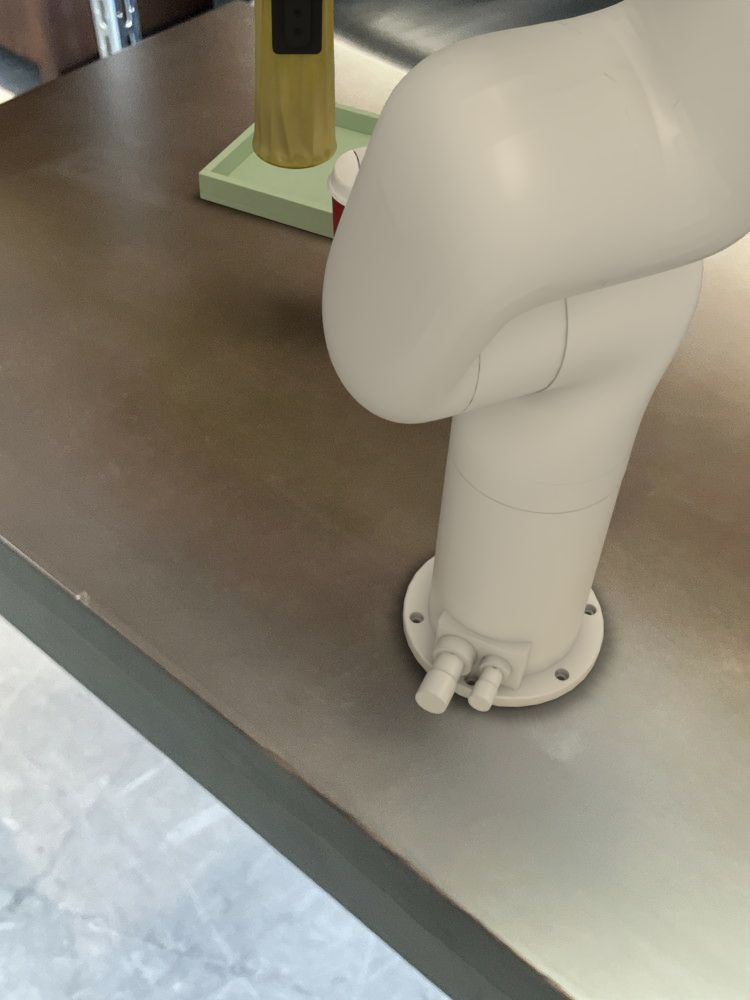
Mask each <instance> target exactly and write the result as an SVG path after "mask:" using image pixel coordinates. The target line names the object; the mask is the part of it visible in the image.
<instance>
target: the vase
mask: <svg viewBox="0 0 750 1000" xmlns="http://www.w3.org/2000/svg"><path fill="white" fill-rule="evenodd" d="M334 3H335V2H334V0H323V2H322V50H321V52H320V53H319V54H275V53H274V52H273V49H272V17H271V0H253V14H254V15H253V17H254V18H253V19H254V66H255V67H254V78H255V79H254V122H255V125H254V136H253V141H252V147H253V150H254V152H255V154H256V155H257V156H258V157H259V158H260V159H262V160H263V161H265V162H267V163H268V164H271V165H273V166H277V167H281V168H287V169H305V168H311V167H315V166H318V165H320V164H322V163H324V162H326V161H328V160H329V159H331V157H332V156H333V155H334V154H335V152H336V150H337V142H336V137H335V103H336V83H335V82H336V66H335V23H334V21H335V20H334V10H335V9H334V5H335V4H334Z"/></svg>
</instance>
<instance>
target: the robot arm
mask: <svg viewBox="0 0 750 1000" xmlns="http://www.w3.org/2000/svg"><path fill="white" fill-rule="evenodd" d="M322 2H323V0H271V17H272V49H273V52H274V53H275V54H319V53H320V52H321V50H322ZM379 115H380V116H379V118H378V121H377V123H376V125H375V128H374V130H373V133H372V136H371V138H370V141H369V144H368V146H367V149H366V152H365V154H364V157H363V160H362V163H361V165H360V168H359V171H358V173H357V176H356V179H355V181H354V184H353V187H352V189H351V192H350V195H349V197H348V200H347V203H346V205H345V208H344V211H343V213H342V216H341V219H340V221H339V224H338V227H337V230H336V233H335V236H334V239H333V238H332V242H331V244H330V248H329V252H328V256H327V259H326V263H325V269H324V276H323V285H322V294H321V295H322V297H321V316H322V317H321V318H322V328H323V334H324V340H325V344H326V349H327V352H328V357H329V359H330V361H331V364H332V366H333V369H334V371H335V374H336V375H337V377H338V378H339V381H340V382H341V384H342V385H343V386H344V388H345V389H346V391H347V392H348V393H349V395H350V396H351V397H352V398H353V399H354V400H355V401H356V402H357V403H358V404H359V405H361V406H362V408H364V409H366V410H367V411H368V412H370V413H371V414H373V415H374V416H376V417H379V418H381V419H383V420H386V421H388V422H389V421H390V422H393V423H397V424H406V425H414V424H425V423H430V422H434V421H438V420H443V419H446V418H447V419H448V418H450V417H451V426H450V430H449V431H450V432H449V438H448V439H449V440H448V446H447V453H446V454H447V456H446V462H445V471H444V477H443V478H444V479H443V486H442V495H441V501H440V503H441V504H440V510H439V511H440V512H439V520H438V527H437V536H436V543H435V550H434V556H432V557H430V558H429V559H428V560H427V561H425V562H424V563H423V564H422V565H421V567H420V568H419V569H418V570H416V572H415V574H414V575H413V577H412V579H411V581H410V583H409V584H408V586H407V590H406V593H405V596H404V600H403V608H402V624H403V632H404V636H405V639H406V642H407V645H408V647H409V649H410V651H411V653H412V654H413V656H414V658H415V660H416V661H417V663H418V664H419V665H420V666H421V667H422V668H423V669H424V671H425V672H426V674H425V676H424V677H423V680H422V682H421V684H420V686H419V687H418V689H417V691H416V693H415V696H414V697H415V699H414V700H415V702H416V703H417V705H418V706H419V707H420V708H422V709H423V710H424V711H427V712H429V713H430V714H434V715H441V714H444V713H445V712H446V710H447V708H448V707H449V704H450V702H451V700H452V698H453V696H454V694H457V695H458V696H460V697H463V698H466V699H467V701H468V704H469V705H470V707H471V708H472V709H475V711H477V712H478V711H479V712H483V713H484V712H489V710H490V709H491V707H492V706H495V707H507V708H508V707H509V708H521V707H528V706H529V707H530V706H536V705H540V704H544V703H546V702H550V701H554V700H556V699H558V698H560V697H562V696H563V695H566V694H567V693H569V692H571V691H572V690H574V689H575V688H576V687H577V686H578V685H580V684H581V683H582V682H583V681H584V680H585V679H586V677H587V676H588V675H589V673H590V672H591V671H592V669H593V668H594V666H595V664H596V661H597V659H598V657H599V655H600V651H601V649H602V648H601V647H602V644H603V641H604V636H605V635H604V632H605V631H604V627H605V626H604V625H605V622H604V617H603V613H602V607H601V605H600V602H599V600H598V598H597V596H596V594H595V592H594V590H593V589H592V586H593V583H594V581H595V580H594V579H595V575H596V573H597V569H598V565H599V561H600V558H601V555H602V553H603V549H604V544H605V541H606V539H607V534H608V530H609V527H610V524H611V521H612V517H613V513H614V510H615V506H616V503H617V499H618V496H619V493H620V489H621V485H622V482H623V479H624V477H625V475H626V471H627V468H628V464H629V461H630V457H631V455H632V454H631V453H632V451H633V447H634V444H635V441H636V437H637V434H638V432H639V429H640V425H641V422H642V420H643V417H644V415H645V412H646V410H647V407H648V405H649V403H650V401H651V399H652V396H653V394H654V392H655V390H656V389H657V387H658V385H659V383H660V381H661V379H662V378H663V376H664V374H665V373H666V371H667V369H668V367H669V366H670V364H671V362H672V360H673V359H674V357H675V356H676V354H677V352H678V350H679V348H680V346H681V345H682V343H683V341H684V338H686V335H687V332H688V330H689V328H690V325H691V324H692V320H693V319H694V316H695V312H696V310H697V308H698V303H699V300H700V296H701V293H702V292H701V291H702V287H703V277H704V259H707V258H709V257H711V256H714V255H716V254H718V253H720V252H722V251H724V250H727V248H729V247H732V246H733V245H735V244H736V243H738V242H739V241H740V240H742V239H743V238H744V237H745V236H747V235H748V234H749V233H750V0H622V1H620V2H617V3H616V4H613V5H611V6H607V7H605V8H601V9H599V10H594V11H592V12H589V13H584V14H581V15H578V16H574V17H569V18H564V19H558V20H552V21H545V22H541V23H538V24H537V23H536V24H532V25H526V26H519V27H514V28H507V29H502V30H497V31H492V32H487V33H483V34H478V35H476V36H475V35H474V36H472V37H468V38H464V39H461V40H458V41H455V42H453V43H451V44H448V45H446V46H443V47H442V48H440V49H437V50H435V51H434V52H433V53H430V54H429V55H427V56H426V57H424V58H423V59H422V60H420V61H419V62H418V63H417V64H416V65H414V66H413V67H412V68H411V69H410V70H409V71H408V72H407V73H406V74H405V75H404V76H403V77H402V78H401V79H400V80H399V82H398V83H397V84H396V85H395V86H394V87H393V88H392V90H391V92H390V94H389V96H388V97H387V99H386V101H385V103H384V105H383V107H382V109H381V111H380V113H379Z"/></svg>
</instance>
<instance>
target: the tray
mask: <svg viewBox="0 0 750 1000" xmlns="http://www.w3.org/2000/svg"><path fill="white" fill-rule="evenodd" d="M379 116H380V113H375V112H372V111H368V110H364V109H361V108H357V107H354V106H349V105H346V104H342V103H339V102H335V137H336V142H337V150H336V152H335V154H334V155H333V156H332V157H331V159H329V160H328V161H326V162H324V163H322V164H320V165H318V166H315V167H311V168H305V169H287V168H281V167H277V166H273V165H271V164H268V163H267V162H265V161H263V160H262V159H260V158H259V157H258V156H257V155H256V154H255V152H254V150H253V147H252V141H253V136H254V125H255V121H254V122H253V123H252V124H251V125H250V126H248V128H246V129H245V130H244V131H243V132H242V133H241V134H240V135H239V136H237V138H235V139H234V140H233V141H232V142H231V143H229V145H227V146H226V147H225V148H224V149H223V150H222V151H220V152H219V154H218V155H216V156H215V158H213V159H212V160H211V161H210V162H209V163H208V164H207V165H205V167H203V168H202V169H201V170H200V171H199V172H198V185H199V186H198V187H199V198H200V199H202V200H205V201H207V202H212V203H214V204H219V205H221V206H225V207H227V208H231V209H234V210H237V211H241V212H244V213H248V214H251V215H254V216H258V217H261V218H264V219H267V220H271V221H273V222H277V223H281V224H284V225H287V226H290V227H293V228H297V229H300V230H303V231H307V232H310V233H312V234H317V235H320V236H323V237H326V238H329V239H332V240H333V239H334V233H333V211H332V196H331V194H330V192H329V191H328V187H327V180H328V177H329V175H330V174H331V172H332V171H333V168H334V164H335V163H336V161H337V160H338V158H339V157H340V156H341V155H343V154H344V153H346V152H348V151H350V150H352V149H356V148H361V147H367V146H368V144H369V141H370V138H371V136H372V133H373V130H374V128H375V125H376V123H377V121H378V118H379Z"/></svg>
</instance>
